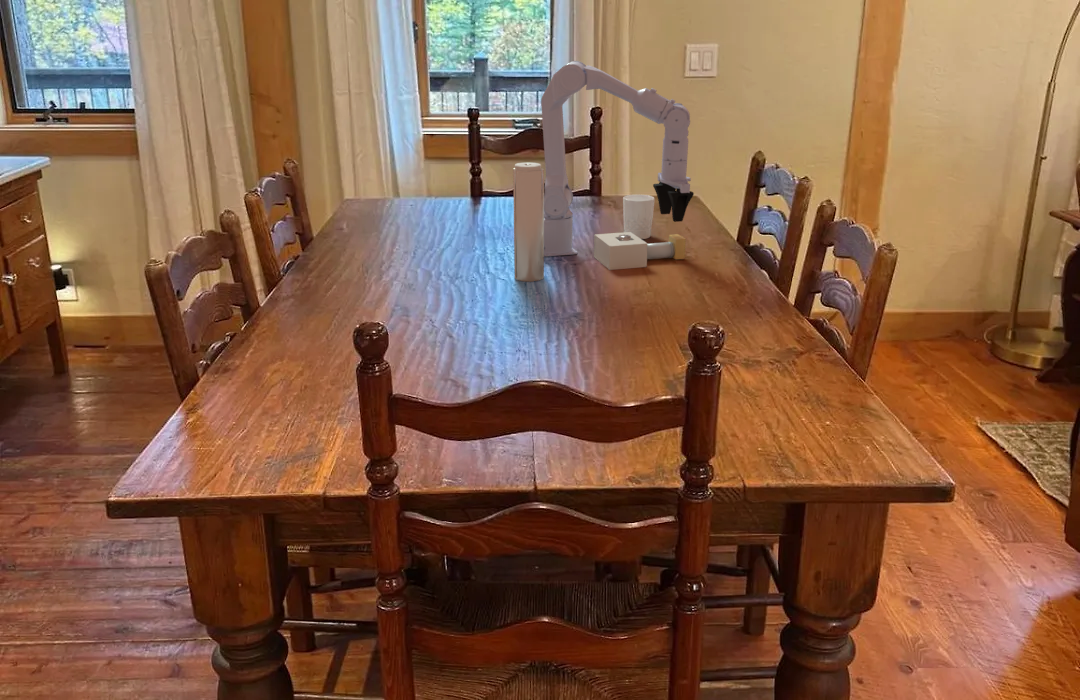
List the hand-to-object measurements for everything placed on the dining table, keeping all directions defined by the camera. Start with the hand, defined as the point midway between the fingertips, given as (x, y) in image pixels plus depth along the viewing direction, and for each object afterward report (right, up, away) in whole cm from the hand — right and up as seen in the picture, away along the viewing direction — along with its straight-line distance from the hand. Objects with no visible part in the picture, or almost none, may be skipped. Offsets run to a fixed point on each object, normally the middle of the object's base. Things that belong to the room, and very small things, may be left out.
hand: (671, 217), depth 220 cm
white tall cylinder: (-33, -15, -13) cm, 39 cm away
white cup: (-6, -2, +21) cm, 22 cm away
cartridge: (-2, -9, +1) cm, 10 cm away
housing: (-12, -11, -1) cm, 16 cm away
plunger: (-11, -7, -2) cm, 13 cm away
